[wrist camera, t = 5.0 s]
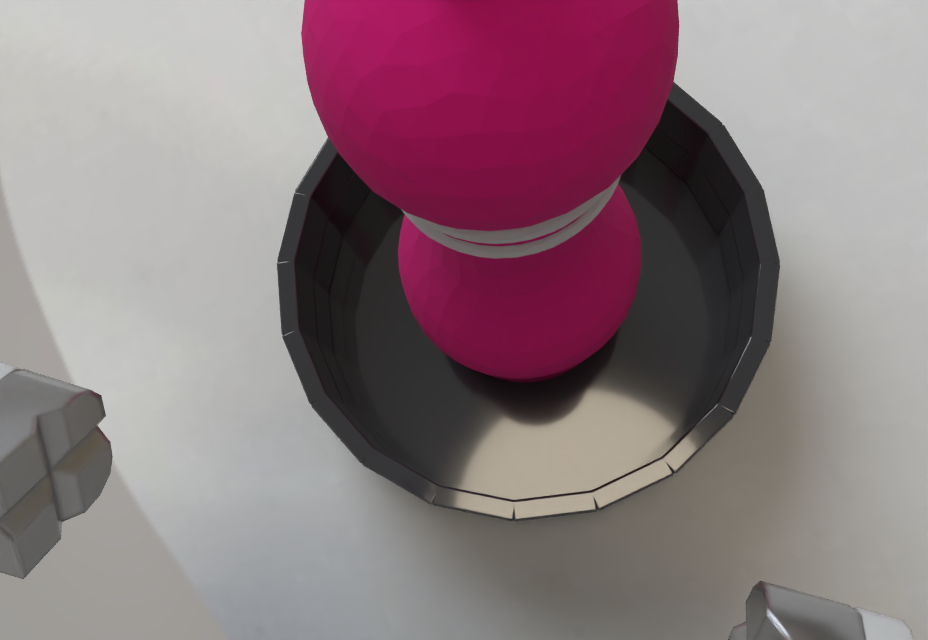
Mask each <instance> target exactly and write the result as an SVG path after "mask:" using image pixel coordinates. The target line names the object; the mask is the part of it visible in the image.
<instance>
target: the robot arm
mask: <svg viewBox="0 0 928 640" xmlns="http://www.w3.org/2000/svg"><path fill="white" fill-rule="evenodd" d="M105 416H106V414H105V410H104V406H103V401H102V397H101V395H99V394H97V393H95V392H93V391H91V390H89V389H86V388H82V387H79V386H76V385H73V384H70V383H67V382H63V381H60V380H57V379H54V378H51V377H47V376H44V375H41V374H38V373H35V372H32V371H28V370H25V369H20V368H17V367H14V366H11V365H7V364H4V363H1V362H0V572H1V573H5V574H8V575H11V576H14V577H18V578H21V579H24V578H25V577H26V576H27V575H28V574H29V573H30V572H31V570H32V569H33V568H34V567H35V566H36V565H37V564H38V563H39V562H40V561H41V560H42V559H43V557H44V556H45V555H46V554H47V553H48V552H49V551H50V550H51V549H52V548H53V547H54V546H55V545H56V543H57V542H58V541H59V540H60V539H61V532H62V522H63V521H65V520H68V519H70V518H73V517H75V516H77V515H80V514H82V513H85V512H86V511H87V510H88V508H89V507H90V506H91V505H92V504H93V503H94V502H95V500H96V499H97V498H98V497H99V496H100V494H101V492H102V490H103V488H104V486H105V484H106V482H107V479H108V477H109V475H110V472H111V464H112V450H111V444H110V441H109V440H108V439H107V437H106V436H105V435H104V434H103V432H102V431H101V430H100V428H99V427H98V426H97V425H98V424H99V423H100V422H101V421H102V420H103V418H104V417H105ZM728 640H914V639H913V635H912V631H911V629H910V628H909V626H908V625H907V624H906V622H905V621H904V620H900V619H896V618H893V617H889V616H886V615H882V614H878V613H875V612H871V611H868V610H864V609H860V608H857V607H854V608H852V607H851V606H850V605H847V604H843V603H839V602H836V601H832V600H828V599H825V598H821V597H817V596H814V595H810V594H807V593H803V592H799V591H796V590H792V589H788V588H785V587H781V586H777V585H774V584H770V583H767V582H763V581H759V582H758V583H757V584H756V585H755V586H754V587H753V589H752V591H751V592H750V594H749V596H748V598H747V600H746V622H744V623H742V624H739V625H737V626H734V627H733V629H732V631H731V633H730V636H729V638H728Z"/></svg>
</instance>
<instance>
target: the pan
mask: <svg viewBox="0 0 928 640" xmlns="http://www.w3.org/2000/svg"><path fill="white" fill-rule="evenodd" d="M618 184H619V186H620V187H621V189H622V190H623V192H624V194H625V196H626V198H627V200H628V202H629V204H630V206H631V208H632V210H633V212H634V214H635V216H636V221H637V225H638V230H639V234H640V239H641V269H640V276H639V281H638V286H637V290H636V295H635V298H634V300H633V302H632V305H631V307H630V310H629V312H628V314H627V317H626V318H625V320H624V321H623V322H622V324H621V325H620V327H619V328H618V329H617V331H616V332H615V334H614V335H613V336H612V337H611V338H610V339H609V340H608V341H607V342H606V343H605V344H604V345H603V346H602V347H601V348H600V349H599V350H598V351H596V352H595V353H594V354H592V355H591V356H590V357H588V358H587V359H585V360H584V361H583V362H581V363H580V364H578V365H577V366H576V367H574V368H573V369H571V370H570V371H568V372H566V373H564V374H562V375H559V376H557V377H554V378H551V379H547V380H543V381H538V382H513V381H507V380H501V379H498V378H494V377H491V376H489V375H486V374H484V373H481V372H478V371H475V370H473V369H470V368H468V367H466V366H464V365H462V364H460V363H459V362H457V361H455V360H453V359H452V358H451V357H449V356H448V355H447V354H445V353H444V352H443V351H441V350H440V349H439V348H438V347H437V346H436V345H435V344H434V343H433V342H432V341H431V340H430V339H429V338H428V337H427V335H426V334H425V333H424V332H423V330H422V329H421V327H420V325H419V324H418V322H417V320H416V319H415V317H414V315H413V314H412V311H411V309H410V306H409V303H408V301H407V298H406V295H405V292H404V289H403V286H402V281H401V277H400V272H399V261H398V247H399V239H400V232H401V227H402V222H403V218H404V215H405V214H404V213H403V211H402V210H401V209H400V208H398V207H397V206H395V205H394V204H392V203H390V202H389V201H387V200H386V199H384V198H382V197H381V196H379V195H378V194H376V193H375V192H373V191H372V190H371V189H370V188H369V187H368V186H367V185H366V184H365V182H364V181H363V180H362V179H361V178H360V177H359V176H358V175H357V174H356V173H355V172H354V171H353V169H352V168H351V167H350V166H349V165H348V164H347V162H346V161H345V160H344V159H343V158H342V157H341V155H340V154H339V153H338V151H337V150H336V148H335V147H334V145H333V144H332V142H331V140H330V139H329V137H328V138H327V140H326V142H325V143H324V145H323V146H322V148H321V150H320V151H319V153H318V155H317V156H316V158H315V159H314V161H313V163H312V164H311V166H310V168H309V169H308V171H307V173H306V174H305V176H304V177H303V179H302V181H301V182H300V184H299V186H298V187H297V189H296V191H295V192H296V193H294V197H293V201H292V205H291V209H290V213H289V217H288V221H287V225H286V229H285V233H284V236H283V240H282V244H281V248H280V252H279V256H278V263H277V271H278V286H279V301H280V316H281V331H282V335H283V340H284V342H285V345H286V347H287V350H288V352H289V354H290V357H291V359H292V362H293V364H294V367H295V369H296V372H297V374H298V376H299V379H300V381H301V384H302V386H303V389H304V391H305V393H306V396H307V398H308V401H309V403H310V404H311V406H312V408H313V409H314V410H315V411H316V412H317V414H318V415H319V416H320V417H321V418H322V419H323V420H324V422H325V423H326V424H327V425H328V426H329V427H330V428H331V430H332V431H333V432H334V433H335V434H336V435H337V437H338V438H339V439H340V440H341V441H342V442H343V443H344V445H345V446H346V447H347V448H348V449H349V450H350V451H351V453H352V454H353V455H354V456H355V457H356V458H357V459H358V461H359V462H360V463H362V464H363V465H364V466H365V467H367V468H369V469H371V470H372V471H374V472H376V473H377V474H379V475H381V476H383V477H384V478H386V479H388V480H390V481H391V482H393V483H395V484H396V485H398V486H400V487H402V488H403V489H405V490H407V491H408V492H410V493H412V494H414V495H415V496H417V497H419V498H421V499H422V500H424V501H426V502H427V503H429V504H433V505H434V506H439V507H444V508H449V509H454V510H459V511H464V512H469V513H473V514H478V515H483V516H488V517H493V518H498V519H503V520H508V521H524V520H532V519H540V518H548V517H556V516H565V515H573V514H581V513H589V512H596V511H597V510H602V509H604V508H606V507H608V506H610V505H613V504H615V503H617V502H619V501H621V500H623V499H625V498H627V497H629V496H631V495H633V494H636V493H638V492H640V491H642V490H644V489H646V488H648V487H650V486H652V485H654V484H656V483H659V482H661V481H663V480H665V479H667V478H669V477H671V476H673V475H674V474H675V473H677V472H678V471H679V470H680V469H681V468H682V467H683V466H684V465H685V464H686V463H687V462H688V461H689V460H690V459H691V458H692V457H693V456H694V455H695V454H696V453H698V452H699V451H700V450H701V449H702V448H703V447H704V446H705V445H706V444H707V443H708V442H709V441H710V440H711V439H712V438H713V437H714V436H715V435H716V434H717V433H718V432H719V431H720V430H721V429H722V428H723V427H724V426H725V425H726V424H727V423H728V422H729V421H730V420H731V419H732V418H733V416H734V415H735V414H736V412H737V410H738V408H739V406H740V404H741V402H742V400H743V398H744V396H745V394H746V392H747V390H748V388H749V386H750V384H751V382H752V380H753V378H754V376H755V374H756V372H757V370H758V368H759V366H760V364H761V362H762V360H763V358H764V356H765V354H766V352H767V350H768V348H769V345H770V342H771V338H772V330H773V321H774V313H775V304H776V296H777V287H778V279H779V270H780V260H779V256H778V251H777V247H776V242H775V238H774V234H773V229H772V225H771V220H770V216H769V211H768V207H767V202H766V198H765V194H764V190H763V189H762V186H761V184H760V183H759V181H758V180H757V178H756V176H755V175H754V173H753V171H752V170H751V168H750V167H749V165H748V163H747V162H746V160H745V158H744V157H743V155H742V154H741V152H740V150H739V149H738V147H737V145H736V144H735V142H734V141H733V139H732V137H731V136H730V134H729V132H728V131H727V129H726V128H725V126H724V125H722V122H720V121H719V120H718V119H717V118H716V117H714V116H713V115H712V114H711V113H710V112H709V111H707V110H706V109H705V108H704V107H703V106H701V105H700V104H699V103H698V102H697V101H696V100H694V99H693V98H692V97H691V96H690V95H688V94H687V93H686V92H685V91H684V90H683V89H681V88H680V87H679V86H678V85H677V84H676V83H674V82H673V85H672V88H671V91H670V93H669V96H668V99H667V102H666V104H665V107H664V110H663V113H662V115H661V118H660V121H659V123H658V125H657V126H656V128H655V130H654V131H653V133H652V135H651V136H650V138H649V140H648V141H647V143H646V145H645V146H644V148H643V149H642V151H641V153H640V154H639V156H638V157H637V158H636V160H635V161H634V162H633V163H632V164H631V165H630V166H629V167H628V168H627V169H626V170H625V171H624V172H623V173H622V174H621V177H620V180H619V183H618Z"/></svg>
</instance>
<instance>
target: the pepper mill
mask: <svg viewBox="0 0 928 640" xmlns="http://www.w3.org/2000/svg"><path fill="white" fill-rule="evenodd" d="M301 34H302V45H303V56H304V62H305V69H306V75H307V81H308V85H309V89H310V92H311V96H312V100H313V103H314V106H315V108H316V110H317V113H318V115H319V117H320V120H321V122H322V124H323V127H324V129H325V131H326V133H327V136H328V137H329V139H330V140H331V142H332V144H333V145H334V147H335V148H336V150H337V151H338V153H339V154H340V155H341V157H342V158H343V159H344V160H345V161H346V162H347V164H348V165H349V166H350V167H351V168H352V169H353V171H354V172H355V173H356V174H357V175H358V176H359V177H360V178H361V179H362V180H363V181H364V182H365V184H366V185H367V186H368V187H369V188H370V189H371V190H372V191H373V192H375V193H376V194H378V195H379V196H381V197H382V198H384V199H386V200H387V201H389V202H390V203H392V204H394V205H395V206H397V207H398V208H400V209H401V210H402V211H403V213H404V214H405V215H404V218H403V222H402V227H401V232H400V239H399V247H398V261H399V272H400V277H401V281H402V286H403V289H404V292H405V295H406V298H407V301H408V303H409V306H410V309H411V311H412V314H413V315H414V317H415V319H416V320H417V322H418V324H419V325H420V327H421V329H422V330H423V332H424V333H425V334H426V335H427V337H428V338H429V339H430V340H431V341H432V342H433V343H434V344H435V345H436V346H437V347H438V348H439V349H440V350H441V351H443V352H444V353H445V354H447V355H448V356H449V357H451V358H452V359H453V360H455V361H457V362H459V363H460V364H462V365H464V366H466V367H468V368H470V369H473V370H475V371H478V372H481V373H484V374H486V375H489V376H491V377H494V378H498V379H501V380H507V381H513V382H538V381H543V380H547V379H551V378H554V377H557V376H559V375H562V374H564V373H566V372H568V371H570V370H571V369H573V368H574V367H576V366H577V365H578V364H580V363H581V362H583V361H584V360H585V359H587V358H588V357H590V356H591V355H592V354H594V353H595V352H596V351H598V350H599V349H600V348H601V347H602V346H603V345H604V344H605V343H606V342H607V341H608V340H609V339H610V338H611V337H612V336H613V335H614V334H615V332H616V331H617V329H618V328H619V327H620V325H621V324H622V322H623V321H624V320H625V318H626V317H627V314H628V312H629V310H630V307H631V305H632V302H633V300H634V298H635V295H636V290H637V286H638V281H639V276H640V269H641V239H640V234H639V230H638V225H637V221H636V216H635V214H634V212H633V210H632V208H631V206H630V204H629V202H628V200H627V198H626V196H625V194H624V192H623V190H622V189H621V187H620V186H619V184H618V183H619V180H620V177H621V174H622V173H623V172H624V171H625V170H626V169H627V168H628V167H629V166H630V165H631V164H632V163H633V162H634V161H635V160H636V158H637V157H638V156H639V154H640V153H641V151H642V149H643V148H644V146H645V145H646V143H647V141H648V140H649V138H650V136H651V135H652V133H653V131H654V130H655V128H656V126H657V125H658V123H659V121H660V118H661V115H662V113H663V110H664V107H665V104H666V102H667V99H668V96H669V93H670V91H671V88H672V85H673V81H674V75H675V69H676V63H677V56H678V36H679V18H678V4H677V0H305V3H304V13H303V23H302V32H301Z"/></svg>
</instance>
